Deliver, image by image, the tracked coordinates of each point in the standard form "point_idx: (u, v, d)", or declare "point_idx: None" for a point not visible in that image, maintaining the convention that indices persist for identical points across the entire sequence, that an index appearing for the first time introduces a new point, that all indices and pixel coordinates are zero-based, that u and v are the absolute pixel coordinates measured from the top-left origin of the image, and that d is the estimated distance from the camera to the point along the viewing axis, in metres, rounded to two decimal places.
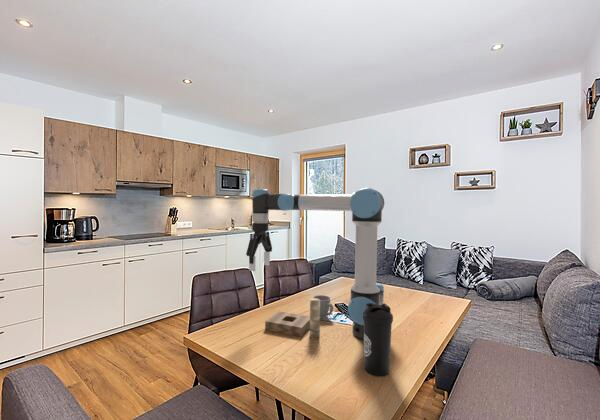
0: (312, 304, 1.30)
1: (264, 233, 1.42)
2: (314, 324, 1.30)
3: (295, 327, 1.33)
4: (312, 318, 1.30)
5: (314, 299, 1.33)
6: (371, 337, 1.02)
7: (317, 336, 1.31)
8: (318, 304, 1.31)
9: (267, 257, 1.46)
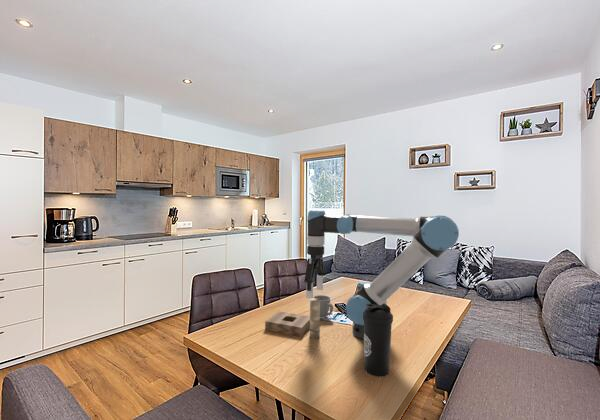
0: (312, 304, 1.30)
1: (319, 256, 1.33)
2: (314, 324, 1.30)
3: (295, 327, 1.33)
4: (312, 318, 1.30)
5: (314, 299, 1.33)
6: (371, 337, 1.02)
7: (317, 336, 1.31)
8: (318, 304, 1.31)
9: (320, 281, 1.38)
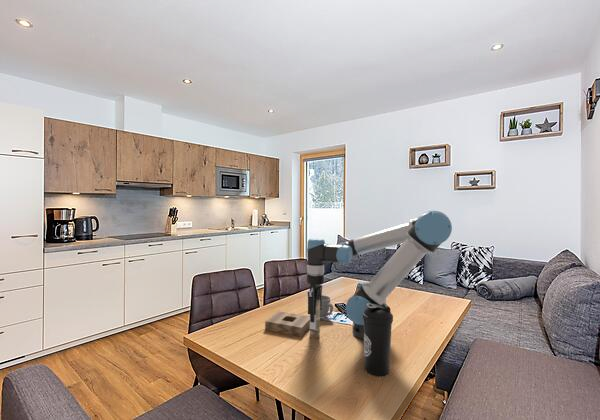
0: None
1: None
2: None
3: (295, 327, 1.33)
4: None
5: None
6: (371, 337, 1.02)
7: (317, 336, 1.31)
8: (318, 304, 1.31)
9: None
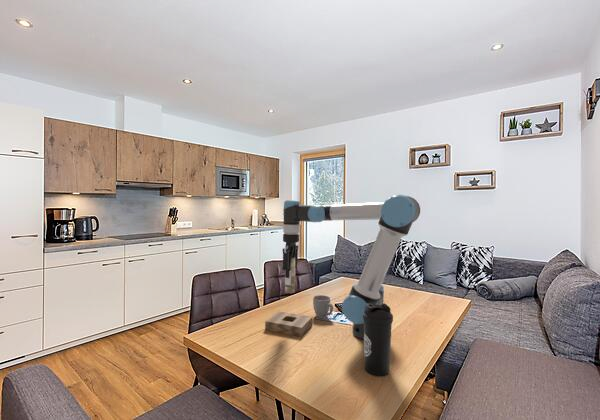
0: None
1: (295, 243, 1.42)
2: None
3: (295, 327, 1.33)
4: None
5: None
6: (371, 337, 1.02)
7: (292, 291, 1.39)
8: (293, 261, 1.39)
9: None
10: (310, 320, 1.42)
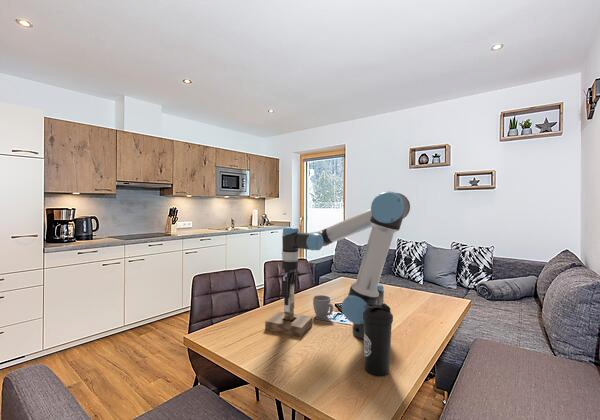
0: None
1: (294, 269, 1.43)
2: None
3: (295, 327, 1.33)
4: None
5: None
6: (371, 337, 1.02)
7: (291, 318, 1.40)
8: (292, 288, 1.39)
9: None
10: (310, 320, 1.42)
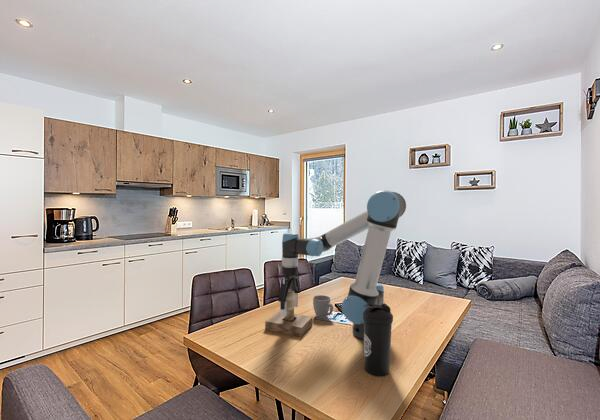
0: None
1: (293, 276, 1.42)
2: (288, 314, 1.39)
3: (295, 327, 1.33)
4: (286, 308, 1.39)
5: (289, 290, 1.42)
6: (371, 337, 1.02)
7: None
8: (292, 295, 1.39)
9: (295, 299, 1.47)
10: (310, 320, 1.42)
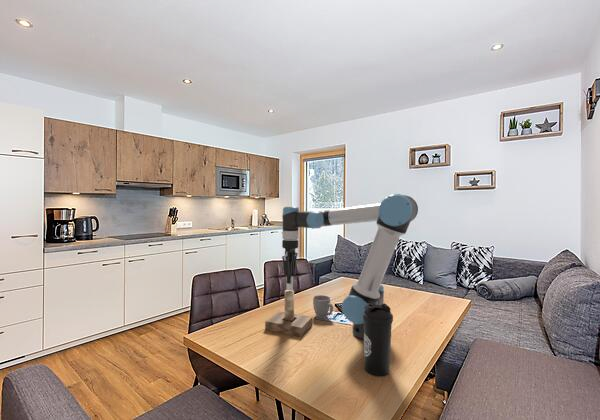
0: (286, 295, 1.39)
1: (294, 249, 1.43)
2: (288, 314, 1.39)
3: (295, 327, 1.33)
4: (286, 308, 1.39)
5: (288, 290, 1.42)
6: (371, 337, 1.02)
7: None
8: (292, 295, 1.39)
9: None
10: (310, 320, 1.42)
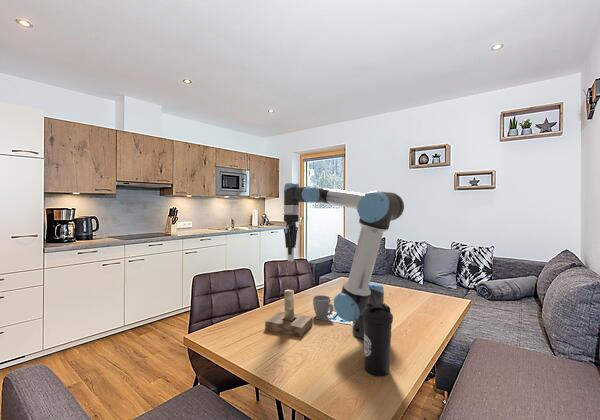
0: (286, 295, 1.39)
1: (295, 223, 1.53)
2: (288, 314, 1.39)
3: (295, 327, 1.33)
4: (286, 308, 1.39)
5: (288, 290, 1.42)
6: (371, 337, 1.02)
7: None
8: (292, 295, 1.40)
9: None
10: (310, 320, 1.42)
